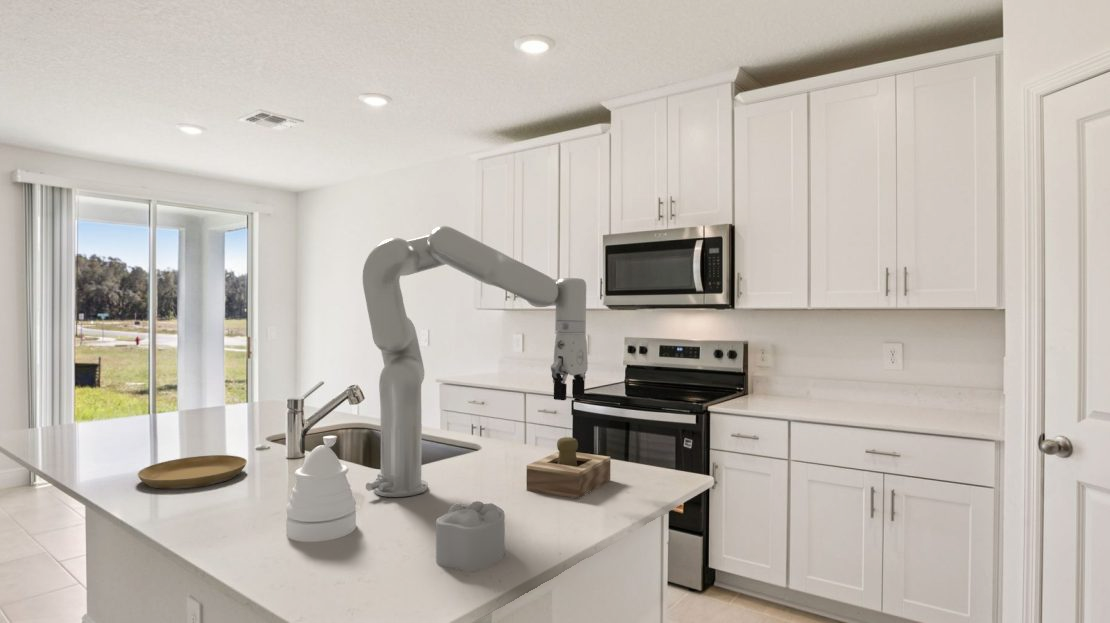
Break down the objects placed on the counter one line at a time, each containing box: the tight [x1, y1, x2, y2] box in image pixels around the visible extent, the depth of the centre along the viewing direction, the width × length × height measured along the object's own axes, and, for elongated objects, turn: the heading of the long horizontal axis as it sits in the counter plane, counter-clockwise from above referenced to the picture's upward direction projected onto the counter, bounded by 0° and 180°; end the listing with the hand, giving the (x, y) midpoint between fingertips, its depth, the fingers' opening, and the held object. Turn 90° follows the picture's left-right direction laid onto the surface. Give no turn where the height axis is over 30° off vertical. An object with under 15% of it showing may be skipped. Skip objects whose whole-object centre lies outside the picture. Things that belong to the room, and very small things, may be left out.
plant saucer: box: [137, 454, 248, 490], centre depth 162 cm, size 24×24×3 cm
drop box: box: [526, 451, 611, 499], centre depth 157 cm, size 18×14×6 cm
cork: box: [556, 436, 579, 467], centre depth 156 cm, size 6×6×11 cm
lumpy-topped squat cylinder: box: [435, 500, 506, 573], centre depth 113 cm, size 10×13×9 cm
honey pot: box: [285, 435, 357, 543], centre depth 125 cm, size 13×13×18 cm
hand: (569, 397), depth 157 cm, fingers open, 9 cm apart
